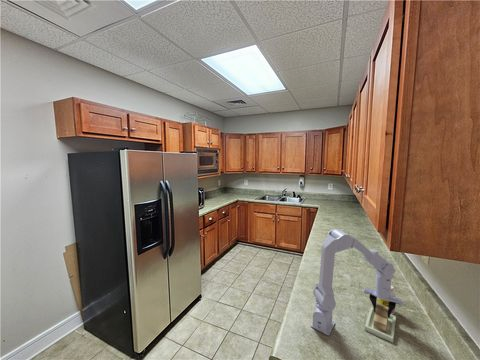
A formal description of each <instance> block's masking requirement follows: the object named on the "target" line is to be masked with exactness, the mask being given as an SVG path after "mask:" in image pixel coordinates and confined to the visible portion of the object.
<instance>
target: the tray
mask: <svg viewBox="0 0 480 360" xmlns="http://www.w3.org/2000/svg"><path fill="white" fill-rule="evenodd" d="M374 316H375V312H374V308H373V306H370V308H369V311H368V315H367V317H366V321H365V324H364V331H365V332H367V333H369V334H372V335H374V336H377V337H379V338H381V339H383V340H385V341H388V342H390V343H391V344H394V338H395V332H396V331H395V329H396V321H397V316H396V315H394V314H390V318H389V317H388V320H387V329H386V334H385V333H383V332H381V331H378V330H376V329H374V328H373V324H374Z"/></svg>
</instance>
